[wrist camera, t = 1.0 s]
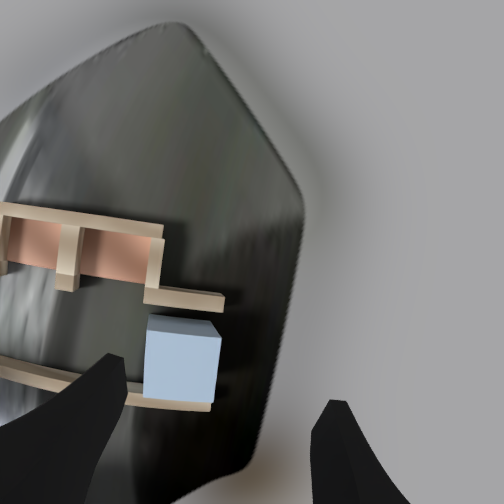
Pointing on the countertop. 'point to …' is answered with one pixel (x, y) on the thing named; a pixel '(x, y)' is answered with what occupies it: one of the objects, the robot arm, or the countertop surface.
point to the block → (181, 359)
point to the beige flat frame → (95, 264)
